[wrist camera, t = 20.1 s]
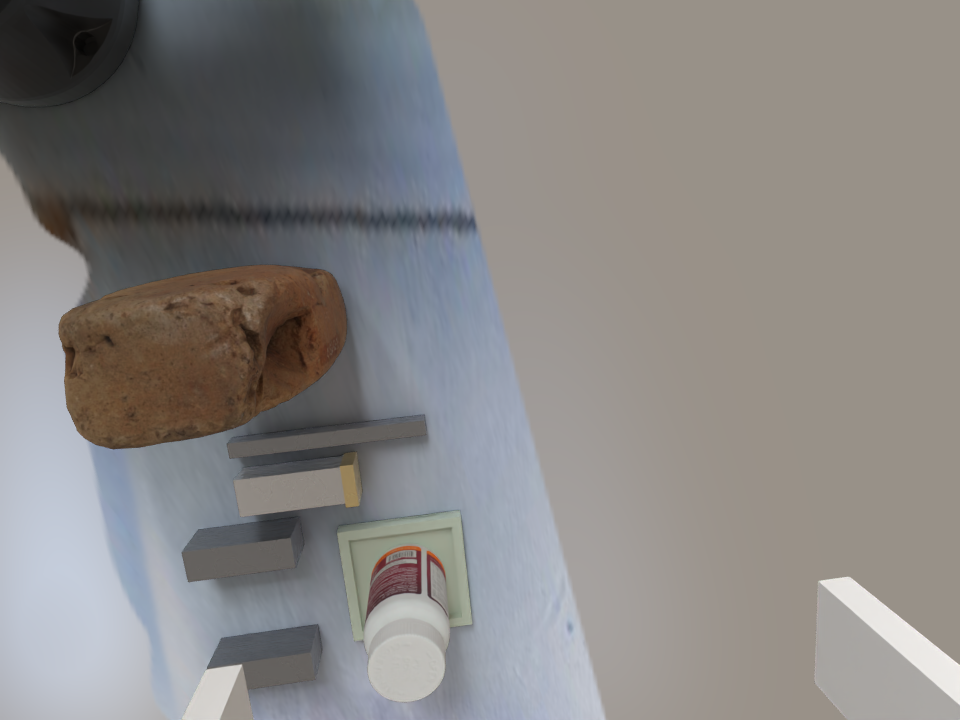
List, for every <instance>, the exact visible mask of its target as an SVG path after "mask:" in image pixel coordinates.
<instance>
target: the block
mask: <svg viewBox="0 0 960 720" xmlns="http://www.w3.org/2000/svg"><path fill="white" fill-rule="evenodd" d="M346 334H347V319H346V310H345V305H344V301H343V297H342V294H341V291H340V289H339V286H338V284H337V282H336V279H335V278H334V277H333V275H332V274H330V273H329V272H327V271H325V270H321V269H311V268H302V267H293V266H280V265H251V266H241V267H233V268H225V269H218V270H211V271H205V272H198V273H192V274H187V275H182V276H177V277H172V278H168V279H164V280H159V281H154V282H150V283H146V284H142V285H138V286H135V287H130V288H126V289H123V290H119V291H117V292H114V293H112V294H109V295H105V296H104V297H102V298H101V299H100V300H97V301H93V302H90V303H87V304H84V305H82V306H79V307H76V308H73V309H71V310H70V311H69V312H67V313H66V314H64V315H63V316H62V317H61V320H60V323H59V337H60V340H61V342H62V347H63V350H64V352H65V354H66V360H65V379H64V384H65V394H66V405H67V409H68V411H69V413H70V415H71V417H72V420H73V422H74V424H75V426H76V428H77V431H78V432H79V433H80V434H81V435H82V436H83V437H84V438H85V439H87V440H88V441H90V442H92V443H94V444H95V445H99V446H103V447H107V448H110V449H123V448H140V447H145V446H150V445H155V444H160V443H165V442H174V441H181V440H187V439H193V438H199V437H203V436H207V435H211V434H215V433H219V432H223V431H227V430H230V429H233V428H236V427H238V426H241V425H244V424H245V423H247V422H248V421H250V420H251V419H252V418H253V417H255V416H257V415H258V414H259V413H260V412H262V411H266V410H269V409H271V408H273V407H276V406H277V405H278V404H279V403H282V402H285V401H289V400H290V399H291V398H293V397H294V396H296V395H297V394H299V393H300V392H302V391H304V390H305V389H306V388H308V387H309V386H311V385H312V384H313V383H315V382H316V381H318V380H319V379H320V378H321V377H322V376H323V375H324V374H325V373H326V372H327V371H328V370H329V369H330V367H331V366H332V365H333V363H334V362H335V360H336V358H337V357H338V355H339V354H340V352H341V350H342V348H343V346H344V343H345V340H346Z"/></svg>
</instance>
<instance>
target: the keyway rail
mask: <svg viewBox="0 0 960 720" xmlns="http://www.w3.org/2000/svg"><path fill="white" fill-rule="evenodd" d="M422 435H426V425H425V417H424V415H417V416H409V417H400V418H392V419H383V420H375V421H366V422H358V423H349V424H341V425H333V426H324V427H316V428H307V429H299V430H290V431H282V432H273V433H265V434H256V435H248V436H239V437H232V439H231V440H230V441H229V442H228V443H227V448H228V453H229V458H230V459H231V458H240V457H248V456H256V455H264V454H273V453H281V452H289V451H298V450H306V449H314V448H323V447H331V446H339V445H347V444H356V443H364V442H372V441H381V440H389V439H397V438H406V437H414V436H422Z"/></svg>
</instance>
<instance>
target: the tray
mask: <svg viewBox="0 0 960 720" xmlns="http://www.w3.org/2000/svg"><path fill="white" fill-rule="evenodd" d="M337 537H338V544H339V550H340V556H341V563H342V569H343V575H344V581H345V588H346V594H347V600H348V607H349V613H350V619H351V626H352V632H353V638H354V641H361V640H364V626H365V620H366V613H367V605H368V598H369V589H370V581H371V575H372V571H373V568H374V565H375V564H376V562H377V560H378V559H379V558H380V557H381V556H382V555H383V554H384V553H385V552H386V551H388V550H389V549H391V548H393V547H395V546H398V545H402V544H417V545H421V546H424V547H426V548H428V549H430V550H431V551H433V552H434V553H435V554H436V555H437V556H438V557H439V558H440V560H441V562H442V564H443V566H444V570H445V576H446V588H447V600H448V613H449V624H450V627H457V626H464V625H471V624H472V617H471V607H470V598H469V589H468V580H467V570H466V561H465V552H464V543H463V533H462V524H461V515H460V510H456V511H449V512H441V513H433V514H426V515H418V516H410V517H403V518H395V519H387V520H380V521H372V522H364V523H357V524H349V525H341V526H339V527H338V531H337Z"/></svg>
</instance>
